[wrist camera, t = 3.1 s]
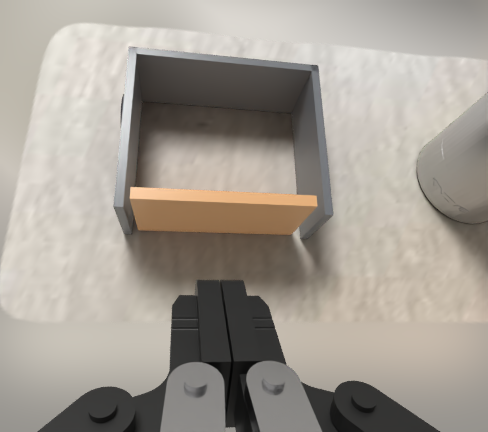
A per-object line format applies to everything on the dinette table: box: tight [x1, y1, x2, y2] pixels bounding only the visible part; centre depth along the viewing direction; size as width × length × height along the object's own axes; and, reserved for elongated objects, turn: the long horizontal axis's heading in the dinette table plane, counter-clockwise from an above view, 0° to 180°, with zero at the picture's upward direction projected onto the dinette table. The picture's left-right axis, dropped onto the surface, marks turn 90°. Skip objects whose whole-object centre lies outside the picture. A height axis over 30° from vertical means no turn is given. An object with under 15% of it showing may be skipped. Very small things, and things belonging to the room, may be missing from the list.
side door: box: [130, 187, 317, 235], centre depth 30 cm, size 1×12×7 cm, turn 91°
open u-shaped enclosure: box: [114, 47, 333, 239], centre depth 32 cm, size 13×15×6 cm
